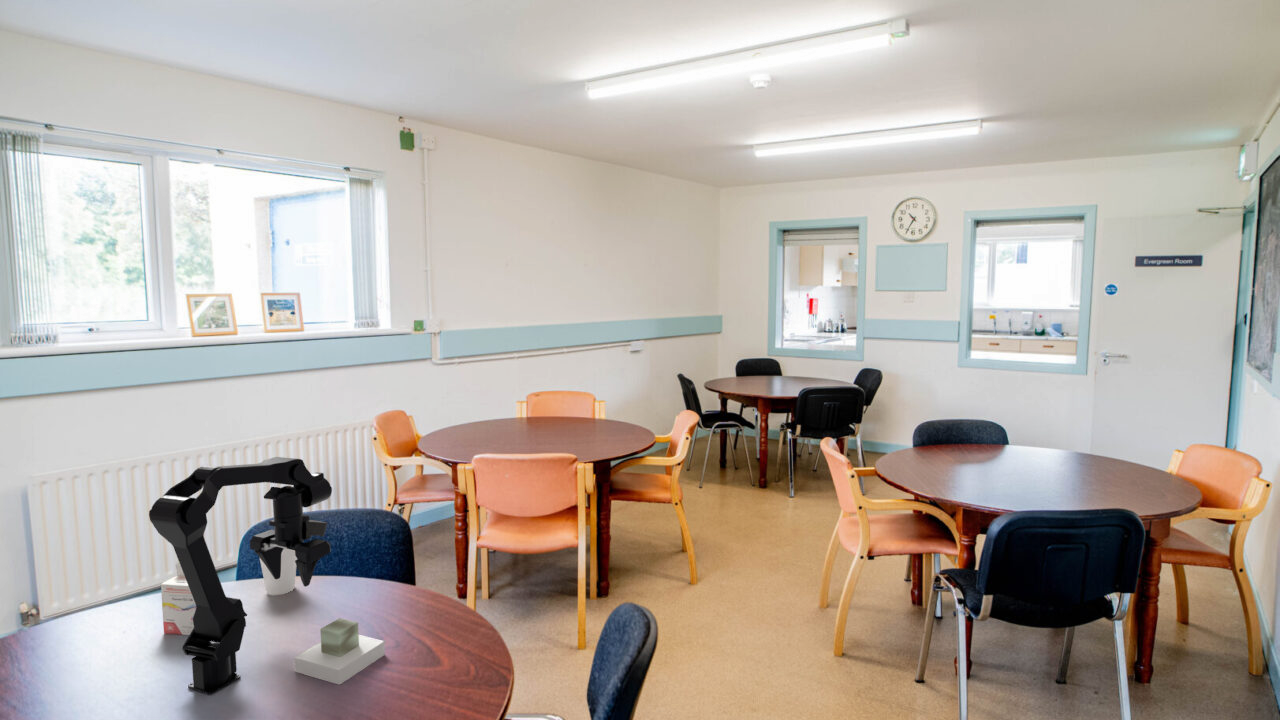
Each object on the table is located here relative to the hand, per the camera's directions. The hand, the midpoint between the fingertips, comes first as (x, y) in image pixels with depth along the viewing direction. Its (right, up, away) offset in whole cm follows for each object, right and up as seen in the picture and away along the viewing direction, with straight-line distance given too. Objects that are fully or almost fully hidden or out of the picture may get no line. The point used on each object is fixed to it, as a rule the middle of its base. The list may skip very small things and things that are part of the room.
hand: (291, 582), depth 149 cm
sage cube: (+16, -10, -11) cm, 22 cm away
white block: (+16, -13, -11) cm, 23 cm away
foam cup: (-15, -10, +24) cm, 30 cm away
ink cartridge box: (-25, -12, +3) cm, 28 cm away
